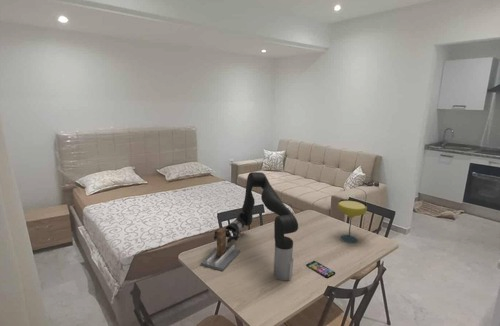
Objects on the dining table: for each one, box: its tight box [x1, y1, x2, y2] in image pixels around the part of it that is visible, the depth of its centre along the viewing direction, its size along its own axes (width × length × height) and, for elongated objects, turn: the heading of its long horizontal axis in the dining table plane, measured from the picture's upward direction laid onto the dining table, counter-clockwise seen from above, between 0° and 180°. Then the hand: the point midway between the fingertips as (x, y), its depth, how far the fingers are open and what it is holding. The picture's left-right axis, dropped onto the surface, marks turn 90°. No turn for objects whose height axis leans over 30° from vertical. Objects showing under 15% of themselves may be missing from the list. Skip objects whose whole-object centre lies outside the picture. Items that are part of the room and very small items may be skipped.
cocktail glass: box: [337, 199, 368, 244], centre depth 186 cm, size 18×18×25 cm
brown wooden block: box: [216, 227, 227, 258], centre depth 161 cm, size 3×5×16 cm, turn 157°
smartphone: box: [306, 260, 336, 279], centre depth 153 cm, size 8×1×15 cm
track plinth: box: [200, 242, 241, 272], centre depth 162 cm, size 14×22×4 cm, turn 157°
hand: (221, 239), depth 160 cm, fingers open, 8 cm apart
